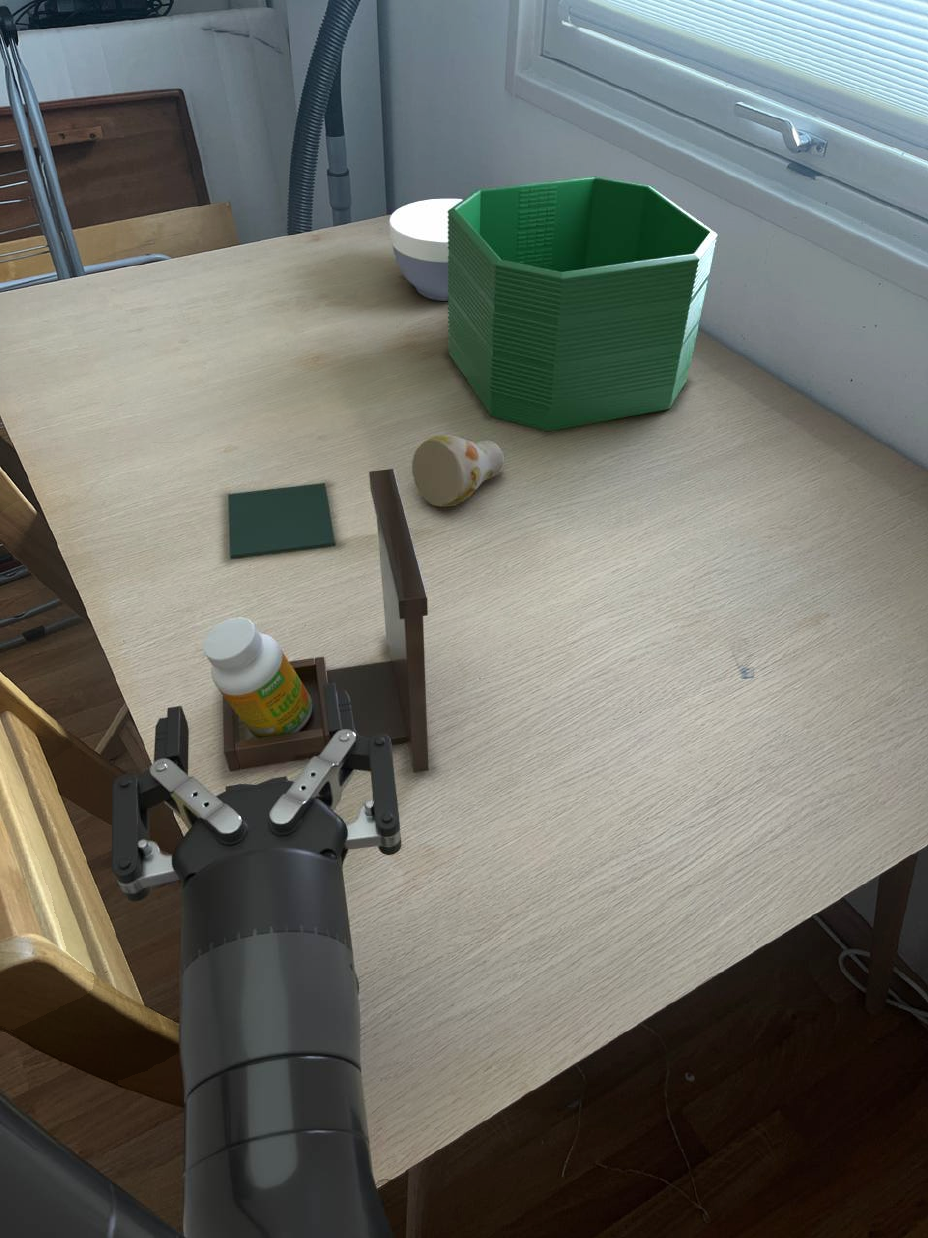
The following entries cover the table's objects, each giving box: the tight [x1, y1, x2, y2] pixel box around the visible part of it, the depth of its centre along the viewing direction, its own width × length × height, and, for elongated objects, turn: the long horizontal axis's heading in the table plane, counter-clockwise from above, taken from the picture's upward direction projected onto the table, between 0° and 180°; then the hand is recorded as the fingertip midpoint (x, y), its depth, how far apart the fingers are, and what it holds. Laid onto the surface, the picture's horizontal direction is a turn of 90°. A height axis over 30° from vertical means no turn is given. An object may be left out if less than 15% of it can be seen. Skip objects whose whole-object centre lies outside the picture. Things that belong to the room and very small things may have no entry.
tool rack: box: [222, 468, 429, 773], centre depth 64 cm, size 15×14×18 cm
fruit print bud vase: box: [411, 434, 505, 507], centre depth 90 cm, size 8×10×10 cm
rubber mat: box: [227, 482, 336, 560], centre depth 88 cm, size 10×10×1 cm
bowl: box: [388, 198, 464, 302], centre depth 124 cm, size 16×16×10 cm
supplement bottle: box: [202, 616, 312, 739], centre depth 66 cm, size 5×5×10 cm
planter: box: [447, 176, 718, 432], centre depth 104 cm, size 26×26×18 cm
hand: (254, 704), depth 50 cm, fingers open, 8 cm apart
